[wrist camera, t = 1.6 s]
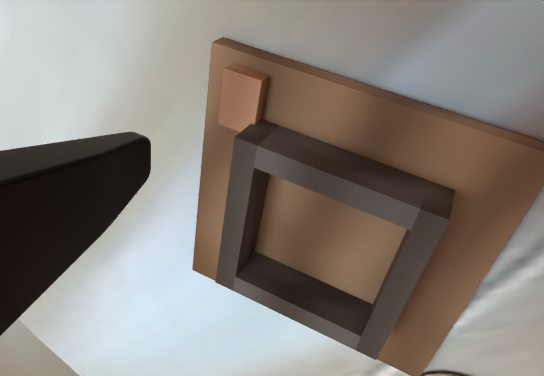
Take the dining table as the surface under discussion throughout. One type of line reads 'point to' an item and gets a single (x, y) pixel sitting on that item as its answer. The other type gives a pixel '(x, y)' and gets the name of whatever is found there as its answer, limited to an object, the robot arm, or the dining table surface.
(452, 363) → the dining table surface
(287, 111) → the socket block
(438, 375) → the can
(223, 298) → the dining table surface
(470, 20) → the dining table surface
